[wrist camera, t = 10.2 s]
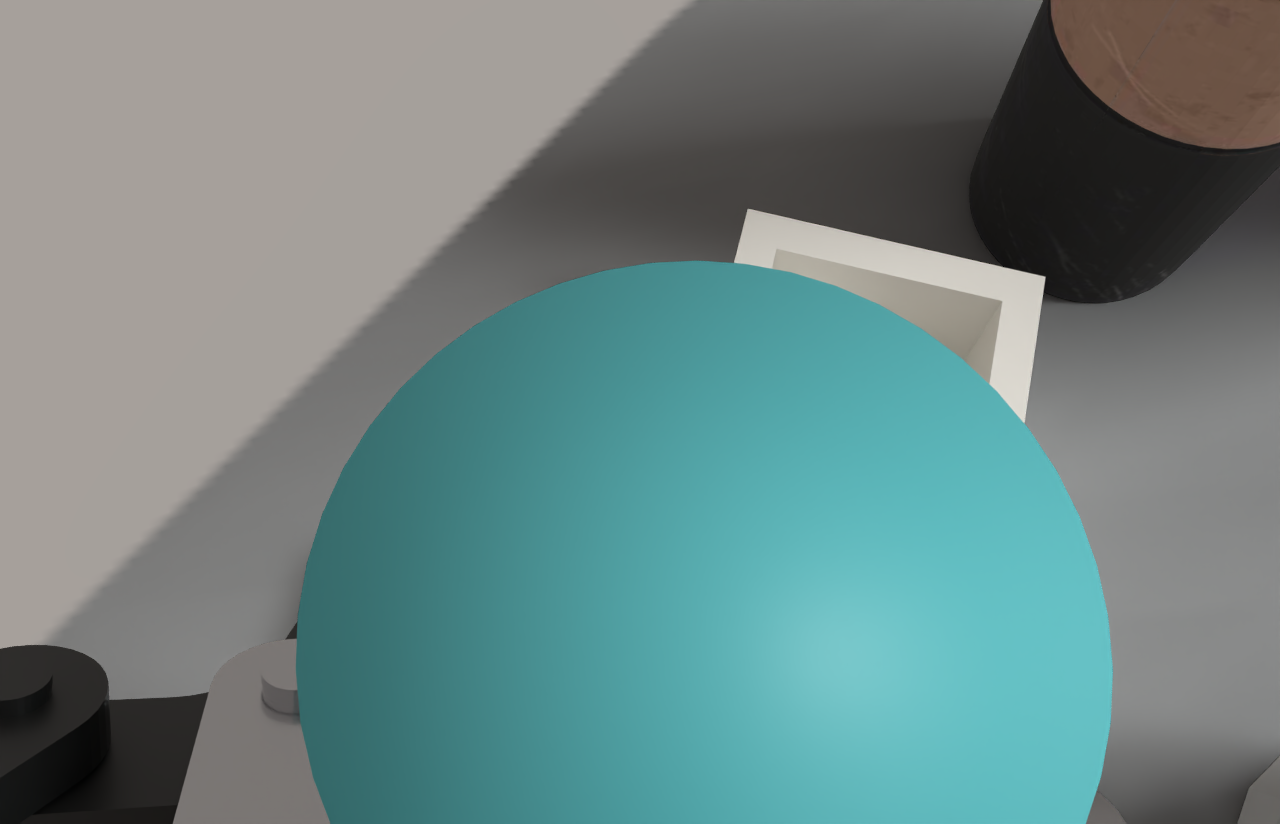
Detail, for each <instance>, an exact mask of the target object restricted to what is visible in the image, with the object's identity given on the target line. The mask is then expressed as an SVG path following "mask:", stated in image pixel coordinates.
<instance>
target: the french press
mask: <svg viewBox="0 0 1280 824" xmlns="http://www.w3.org/2000/svg"><path fill="white" fill-rule="evenodd" d="M1237 824H1280V756H1279V757H1278V758H1277V759H1276V761H1275V762H1274V763H1273V764H1272V765H1271V766H1270V767H1269V768H1268V769H1267V770H1266V771H1265V772H1264V773H1263V774H1262V775H1261V776H1260V777H1259V778H1258V779H1257V780H1256V781H1255V782H1254V783H1253V784H1252V785H1251V786H1250V787H1249V789H1248V792H1247V796H1246V799H1245V802H1244V805H1243V808H1242V811H1241V814H1240V817H1239V820H1238V823H1237Z"/></svg>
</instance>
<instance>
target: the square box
mask: <svg viewBox="0 0 1280 824" xmlns="http://www.w3.org/2000/svg"><path fill="white" fill-rule="evenodd" d="M734 263H741V264H749V265H754V266H760V267H765V268H771V269H776V270H782V271H787V272H792V273H795V274H798V275H802V276H805V277H808V278H812V279H815V280H818V281H822V282H825V283H828V284H832V285H835V286H838V287H840V288H842V289H845V290H847V291H849V292H851V293H854V294H856V295H858V296H861V297H863V298H865V299H868V300H870V301H872V302H875V303H877V304H879V305H881V306H883V307H885V308H886V309H888V310H890V311H892V312H893V313H895V314H897V315H899V316H900V317H902V318H904V319H906V320H907V321H909V322H911V323H913V324H914V325H916V326H918V327H920V328H921V329H923V330H924V331H925V332H927V333H928V334H929V335H931V336H932V337H934V338H935V339H936V340H938V341H939V342H940V343H942V344H943V345H944V346H946V347H947V348H948V349H950V350H951V351H953V352H954V353H955V354H957V355H958V356H959V357H961V358H962V359H963V360H964V361H965V362H966V363H967V364H968V365H969V366H970V367H971V368H972V369H974V370H975V371H976V372H977V373H978V374H979V375H980V376H981V377H982V378H983V379H984V380H985V381H986V382H987V383H989V384H990V385H991V386H992V387H993V388H994V389H995V390H996V391H997V392H998V393H999V394H1000V396H1001V397H1002V398H1003V399H1004V400H1005V401H1006V403H1007V404H1008V405H1009V406H1010V407H1011V409H1012V410H1013V411H1014V412H1015V413H1016V414H1017V416H1018V417H1019V418H1020V419H1021V420H1022V422H1023V423H1024V422H1025V415H1026V409H1027V402H1028V395H1029V388H1030V381H1031V374H1032V367H1033V360H1034V353H1035V346H1036V339H1037V332H1038V325H1039V319H1040V312H1041V305H1042V298H1043V291H1044V284H1045V277H1044V276H1040V275H1035V274H1031V273H1026V272H1022V271H1018V270H1013V269H1009V268H1005V267H1000V266H996V265H992V264H987V263H983V262H978V261H974V260H970V259H965V258H961V257H957V256H952V255H948V254H944V253H939V252H935V251H930V250H926V249H922V248H917V247H913V246H909V245H904V244H900V243H896V242H891V241H887V240H882V239H878V238H874V237H869V236H865V235H861V234H856V233H852V232H848V231H843V230H839V229H834V228H830V227H826V226H821V225H817V224H813V223H808V222H804V221H800V220H795V219H791V218H786V217H782V216H778V215H773V214H769V213H765V212H760V211H756V210H752V209H748V210H747V214H746V218H745V222H744V226H743V230H742V234H741V238H740V241H739V245H738V249H737V253H736V257H735V261H734Z"/></svg>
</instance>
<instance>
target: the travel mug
mask: <svg viewBox="0 0 1280 824" xmlns="http://www.w3.org/2000/svg"><path fill="white" fill-rule="evenodd" d="M1279 166H1280V0H1043V2H1042V5H1041V7H1040V9H1039V12H1038V14H1037V16H1036V19H1035V21H1034V23H1033V26H1032V28H1031V30H1030V33H1029V35H1028V37H1027V40H1026V42H1025V44H1024V47H1023V49H1022V51H1021V54H1020V56H1019V58H1018V61H1017V63H1016V65H1015V68H1014V70H1013V72H1012V75H1011V77H1010V79H1009V82H1008V84H1007V86H1006V89H1005V91H1004V93H1003V96H1002V98H1001V100H1000V103H999V105H998V107H997V110H996V112H995V114H994V117H993V119H992V121H991V124H990V126H989V128H988V131H987V133H986V135H985V138H984V140H983V143H982V145H981V148H980V150H979V153H978V155H977V158H976V161H975V164H974V167H973V171H972V174H971V180H970V205H971V211H972V216H973V219H974V222H975V225H976V228H977V230H978V232H979V234H980V236H981V238H982V240H983V241H984V243H985V244H986V246H987V248H988V249H989V250H990V252H991V253H992V254H993V255H994V256H995V258H996V259H997V260H998V261H999V262H1000V263H1001V264H1002V265H1003V266H1004V267H1005V268H1009V269H1013V270H1018V271H1022V272H1026V273H1031V274H1035V275H1040V276H1044V277H1045V284H1044V291H1043V292H1045V293H1047V294H1050V295H1053V296H1056V297H1059V298H1063V299H1068V300H1072V301H1078V302H1089V303H1100V302H1112V301H1119V300H1123V299H1127V298H1130V297H1134V296H1136V295H1138V294H1141V293H1143V292H1145V291H1148V290H1150V289H1151V288H1153V287H1154V286H1156V285H1158V284H1159V283H1161V282H1162V281H1163V280H1164V279H1165V278H1167V277H1168V276H1169V275H1170V274H1171V273H1173V272H1174V271H1175V270H1176V269H1177V268H1178V267H1179V266H1180V265H1181V264H1182V263H1183V262H1184V261H1185V260H1186V259H1187V258H1189V257H1190V256H1191V255H1192V254H1193V253H1194V252H1195V251H1196V250H1197V249H1198V248H1199V247H1200V246H1201V245H1202V244H1203V243H1204V242H1205V241H1206V240H1207V239H1208V238H1209V237H1210V236H1211V235H1212V234H1213V233H1214V232H1215V231H1216V230H1217V229H1218V227H1219V226H1220V225H1221V224H1222V223H1223V222H1224V221H1225V220H1226V219H1227V218H1228V217H1229V216H1230V215H1231V214H1232V213H1233V212H1234V211H1235V210H1236V209H1237V208H1238V207H1239V206H1240V205H1241V204H1242V203H1243V202H1244V201H1245V200H1246V199H1247V198H1248V197H1249V196H1250V195H1251V194H1252V193H1253V192H1254V191H1255V190H1256V189H1257V188H1258V187H1259V186H1260V185H1261V184H1262V183H1263V182H1264V181H1265V180H1266V179H1267V178H1268V177H1269V176H1270V175H1271V174H1272V173H1273V172H1274V171H1275V170H1276V169H1277V168H1278V167H1279Z"/></svg>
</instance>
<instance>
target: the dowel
mask: <svg viewBox="0 0 1280 824" xmlns="http://www.w3.org/2000/svg"><path fill="white" fill-rule="evenodd" d="M1112 677H1113V666H1112V655H1111V643H1110V632H1109V621H1108V614H1107V609H1106V605H1105V600H1104V596H1103V591H1102V586H1101V582H1100V577H1099V573H1098V568H1097V564H1096V562H1095V559H1094V556H1093V553H1092V550H1091V548H1090V545H1089V542H1088V539H1087V536H1086V533H1085V531H1084V528H1083V525H1082V522H1081V519H1080V517H1079V515H1078V513H1077V511H1076V509H1075V507H1074V505H1073V503H1072V501H1071V499H1070V497H1069V495H1068V493H1067V491H1066V489H1065V487H1064V485H1063V483H1062V481H1061V479H1060V477H1059V475H1058V473H1057V471H1056V469H1055V468H1054V466H1053V465H1052V463H1051V462H1050V460H1049V459H1048V457H1047V456H1046V454H1045V453H1044V451H1043V450H1042V448H1041V447H1040V445H1039V444H1038V442H1037V441H1036V439H1035V438H1034V436H1033V435H1032V433H1031V432H1030V430H1029V429H1028V427H1027V426H1026V425H1025V424H1024V423H1023V422H1022V420H1021V419H1020V418H1019V417H1018V416H1017V414H1016V413H1015V412H1014V411H1013V410H1012V409H1011V407H1010V406H1009V405H1008V404H1007V403H1006V401H1005V400H1004V399H1003V398H1002V397H1001V396H1000V394H999V393H998V392H997V391H996V390H995V389H994V388H993V387H992V386H991V385H990V384H989V383H987V382H986V381H985V380H984V379H983V378H982V377H981V376H980V375H979V374H978V373H977V372H976V371H975V370H974V369H972V368H971V367H970V366H969V365H968V364H967V363H966V362H965V361H964V360H963V359H962V358H961V357H959V356H958V355H957V354H955V353H954V352H953V351H951V350H950V349H948V348H947V347H946V346H944V345H943V344H942V343H940V342H939V341H938V340H936V339H935V338H934V337H932V336H931V335H929V334H928V333H927V332H925V331H924V330H923V329H921V328H920V327H918V326H916V325H914V324H913V323H911V322H909V321H907V320H906V319H904V318H902V317H900V316H899V315H897V314H895V313H893V312H892V311H890V310H888V309H886V308H885V307H883V306H881V305H879V304H877V303H875V302H872V301H870V300H868V299H865V298H863V297H861V296H858V295H856V294H854V293H851V292H849V291H847V290H845V289H842V288H840V287H838V286H835V285H832V284H828V283H825V282H822V281H818V280H815V279H812V278H808V277H805V276H802V275H798V274H795V273H792V272H787V271H782V270H776V269H771V268H765V267H760V266H754V265H749V264H741V263H726V262H711V261H680V262H660V263H647V264H641V265H635V266H629V267H623V268H617V269H611V270H605V271H601V272H598V273H594V274H591V275H587V276H584V277H581V278H577V279H574V280H570V281H567V282H563V283H560V284H557V285H555V286H552V287H550V288H548V289H545V290H543V291H541V292H538V293H536V294H534V295H531V296H529V297H526V298H524V299H522V300H519V301H517V302H515V303H513V304H511V305H510V306H508V307H506V308H504V309H503V310H501V311H499V312H497V313H496V314H494V315H492V316H490V317H489V318H487V319H485V320H483V321H482V322H480V323H478V324H476V325H475V326H473V327H472V328H471V329H469V330H468V331H467V332H465V333H464V334H463V335H461V336H460V337H458V338H457V339H456V340H454V341H453V342H452V343H450V344H449V345H448V346H446V347H445V348H444V349H442V350H441V351H440V352H438V353H437V354H436V355H435V356H434V357H433V358H432V359H430V360H429V361H428V362H427V363H426V364H425V365H424V366H423V367H422V368H421V369H420V370H419V371H418V372H417V373H416V374H415V375H414V376H413V377H412V378H411V379H410V380H409V381H407V382H406V383H405V384H404V385H403V386H402V387H401V388H400V389H399V391H398V392H397V393H396V394H395V396H394V397H393V398H392V399H391V401H390V402H389V403H388V404H387V405H386V407H385V408H384V409H383V410H382V412H381V413H380V414H379V415H378V416H377V418H376V419H375V420H374V421H373V423H372V424H371V425H370V426H369V428H368V430H367V431H366V433H365V434H364V436H363V438H362V439H361V441H360V442H359V444H358V446H357V447H356V449H355V450H354V452H353V454H352V455H351V457H350V458H349V460H348V462H347V463H346V465H345V466H344V468H343V470H342V472H341V474H340V477H339V479H338V481H337V483H336V485H335V488H334V490H333V492H332V494H331V496H330V498H329V501H328V503H327V505H326V507H325V509H324V511H323V514H322V516H321V520H320V523H319V526H318V529H317V533H316V536H315V539H314V542H313V545H312V549H311V552H310V555H309V558H308V561H307V565H306V571H305V577H304V583H303V588H302V594H301V600H300V606H299V611H298V623H297V647H296V679H297V690H298V700H299V711H300V722H301V727H302V732H303V736H304V740H305V745H306V749H307V753H308V758H309V762H310V766H311V771H312V775H313V779H314V782H315V784H316V787H317V790H318V792H319V795H320V797H321V800H322V803H323V805H324V808H325V811H326V813H327V816H328V819H329V821H330V824H1086V821H1087V818H1088V815H1089V812H1090V809H1091V806H1092V803H1093V800H1094V797H1095V794H1096V791H1097V788H1098V785H1099V782H1100V779H1101V774H1102V768H1103V763H1104V757H1105V752H1106V746H1107V740H1108V735H1109V729H1110V724H1111V701H1112Z"/></svg>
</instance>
